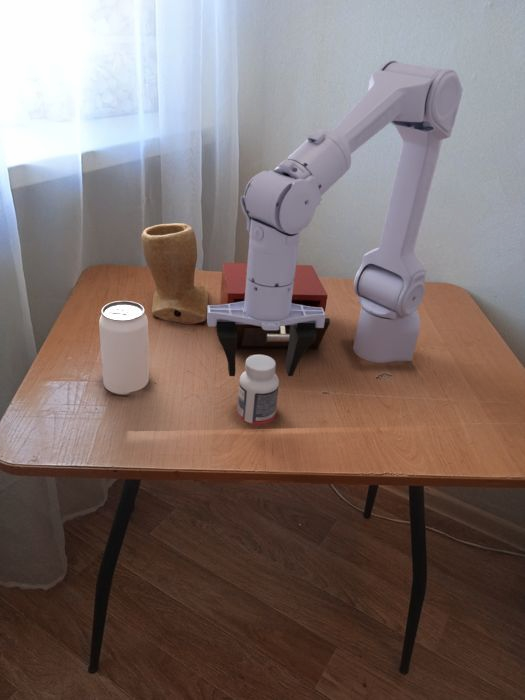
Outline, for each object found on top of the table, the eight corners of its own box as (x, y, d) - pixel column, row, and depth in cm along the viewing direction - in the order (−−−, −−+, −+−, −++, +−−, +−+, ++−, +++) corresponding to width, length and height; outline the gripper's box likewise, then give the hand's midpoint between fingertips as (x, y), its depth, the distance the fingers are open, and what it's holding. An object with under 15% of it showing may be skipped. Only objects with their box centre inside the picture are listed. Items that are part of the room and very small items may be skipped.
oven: (305, 315, 105) (312, 265, 99) (319, 348, 95) (327, 295, 89) (219, 313, 102) (222, 262, 97) (224, 348, 92) (227, 293, 87)
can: (139, 400, 78) (136, 325, 72) (95, 391, 79) (89, 316, 73) (155, 375, 84) (154, 303, 77) (114, 367, 84) (110, 296, 78)
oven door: (316, 345, 94) (329, 318, 86) (319, 364, 92) (332, 338, 84) (228, 345, 91) (233, 316, 84) (229, 364, 90) (235, 337, 82)
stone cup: (147, 288, 109) (146, 212, 101) (209, 291, 109) (212, 217, 102) (136, 326, 96) (132, 242, 88) (206, 330, 97) (209, 247, 89)
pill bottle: (280, 412, 79) (287, 359, 74) (265, 433, 74) (271, 378, 70) (247, 400, 80) (251, 347, 76) (230, 420, 76) (234, 365, 72)
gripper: (211, 290, 62) (206, 390, 69) (337, 293, 64) (320, 389, 71) (208, 265, 68) (204, 359, 75) (323, 268, 70) (309, 359, 77)
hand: (260, 372), depth 74 cm, fingers open, 7 cm apart
